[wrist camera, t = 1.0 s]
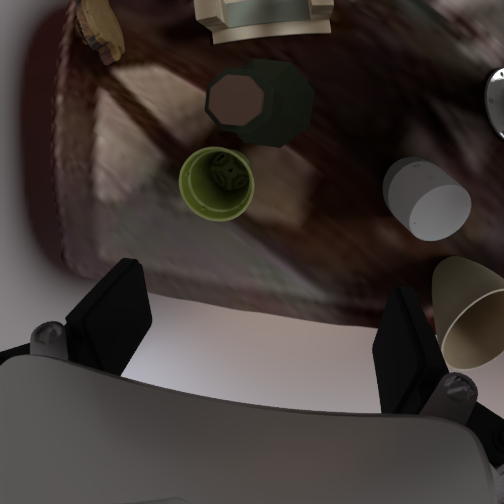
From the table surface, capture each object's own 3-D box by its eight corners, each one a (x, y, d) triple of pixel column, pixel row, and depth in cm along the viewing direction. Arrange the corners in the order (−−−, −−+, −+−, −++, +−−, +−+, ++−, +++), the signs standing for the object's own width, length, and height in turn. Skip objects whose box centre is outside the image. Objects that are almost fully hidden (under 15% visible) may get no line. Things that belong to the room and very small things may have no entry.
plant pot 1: (229, 212, 47) (214, 235, 40) (187, 167, 45) (164, 181, 37) (276, 174, 44) (270, 190, 36) (232, 125, 41) (216, 130, 34)
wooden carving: (89, 4, 33) (51, -6, 24) (109, -12, 32) (73, -26, 23) (121, 72, 39) (82, 70, 30) (144, 55, 38) (107, 48, 29)
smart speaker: (386, 220, 44) (414, 266, 32) (370, 163, 41) (398, 190, 28) (440, 203, 41) (482, 242, 29) (427, 146, 38) (473, 166, 25)
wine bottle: (291, 143, 41) (269, 220, 15) (239, 114, 40) (124, 140, 14) (321, 94, 37) (366, 71, 11) (268, 64, 36) (200, -9, 10)
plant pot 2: (396, 290, 49) (420, 356, 35) (446, 220, 42) (493, 270, 28) (449, 319, 50) (477, 380, 36) (496, 259, 43) (540, 311, 29)
